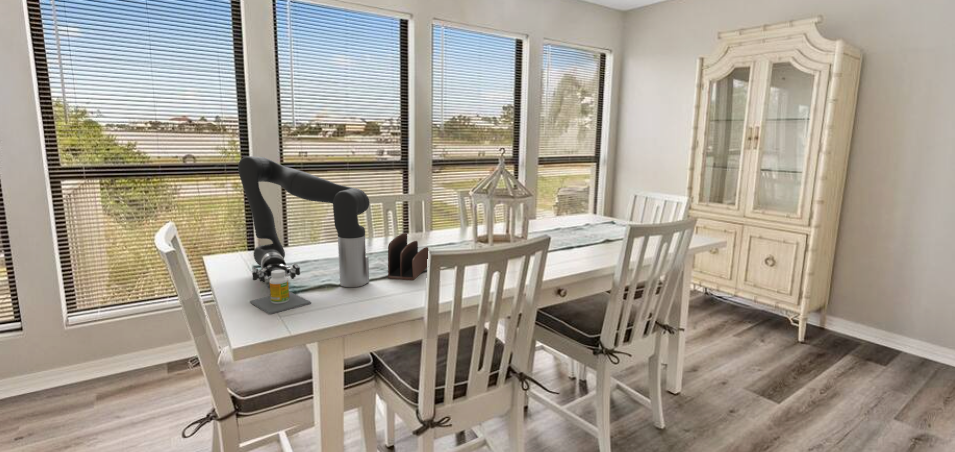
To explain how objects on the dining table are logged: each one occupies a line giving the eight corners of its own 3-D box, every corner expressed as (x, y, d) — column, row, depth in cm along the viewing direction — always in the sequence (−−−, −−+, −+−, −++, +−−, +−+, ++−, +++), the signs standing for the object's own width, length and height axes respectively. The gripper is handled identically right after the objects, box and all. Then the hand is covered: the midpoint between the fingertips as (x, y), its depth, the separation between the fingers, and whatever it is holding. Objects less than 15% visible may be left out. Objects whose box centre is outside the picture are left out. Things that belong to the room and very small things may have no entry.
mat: (289, 293, 166) (289, 291, 166) (310, 303, 157) (310, 301, 156) (249, 302, 157) (249, 300, 157) (270, 314, 147) (269, 312, 147)
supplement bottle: (283, 304, 154) (281, 274, 152) (267, 303, 155) (265, 273, 153) (292, 299, 159) (290, 269, 157) (277, 297, 160) (275, 268, 158)
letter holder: (387, 279, 183) (386, 241, 180) (405, 264, 202) (405, 230, 199) (413, 280, 181) (413, 242, 179) (429, 266, 200) (429, 231, 198)
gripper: (249, 256, 167) (252, 268, 153) (294, 252, 173) (301, 263, 159) (251, 278, 169) (254, 292, 154) (296, 272, 175) (302, 286, 161)
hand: (278, 277), depth 157 cm, fingers open, 8 cm apart
